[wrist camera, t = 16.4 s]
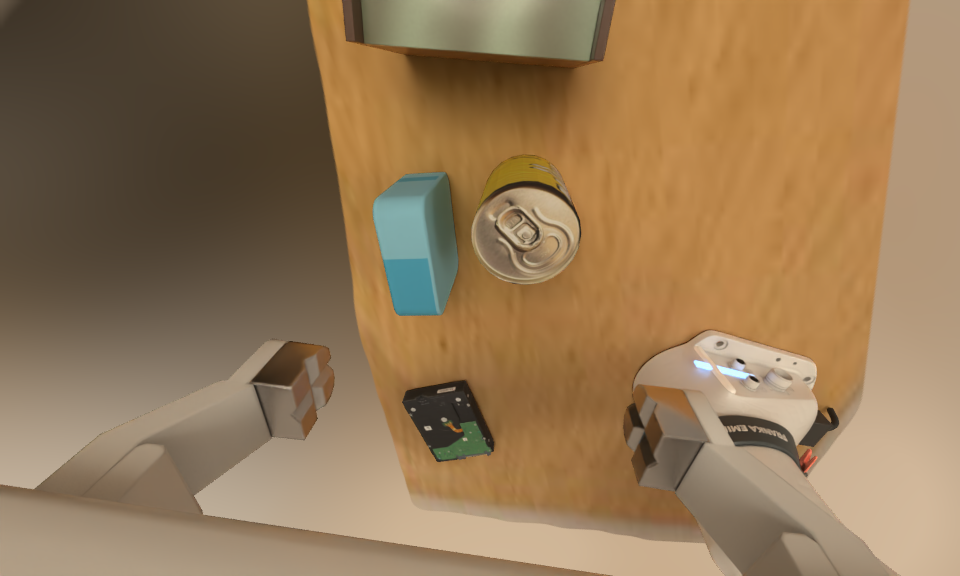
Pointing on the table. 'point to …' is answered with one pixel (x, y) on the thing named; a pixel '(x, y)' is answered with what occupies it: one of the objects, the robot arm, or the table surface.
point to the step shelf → (485, 29)
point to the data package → (417, 242)
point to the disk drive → (449, 421)
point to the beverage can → (525, 222)
